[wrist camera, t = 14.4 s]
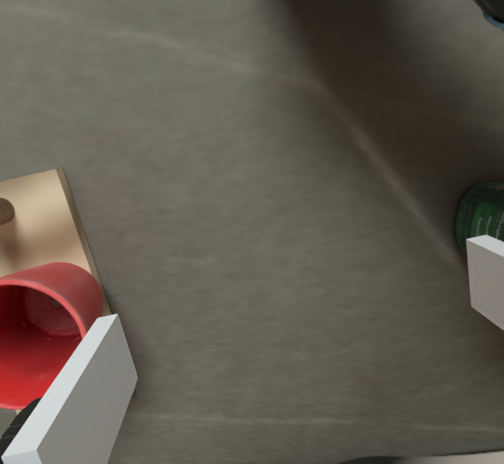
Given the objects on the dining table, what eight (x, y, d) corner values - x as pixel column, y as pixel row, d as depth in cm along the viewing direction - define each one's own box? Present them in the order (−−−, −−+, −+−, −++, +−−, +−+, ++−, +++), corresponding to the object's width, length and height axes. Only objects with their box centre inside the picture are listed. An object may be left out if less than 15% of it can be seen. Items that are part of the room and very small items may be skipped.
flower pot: (-14, 263, 39) (-90, 304, 30) (98, 232, 39) (58, 264, 30) (29, 360, 41) (-28, 426, 32) (134, 331, 41) (108, 389, 32)
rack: (-64, 196, 39) (-154, 216, 29) (62, 167, 39) (11, 178, 30) (27, 411, 44) (-25, 485, 35) (135, 386, 45) (112, 452, 35)
